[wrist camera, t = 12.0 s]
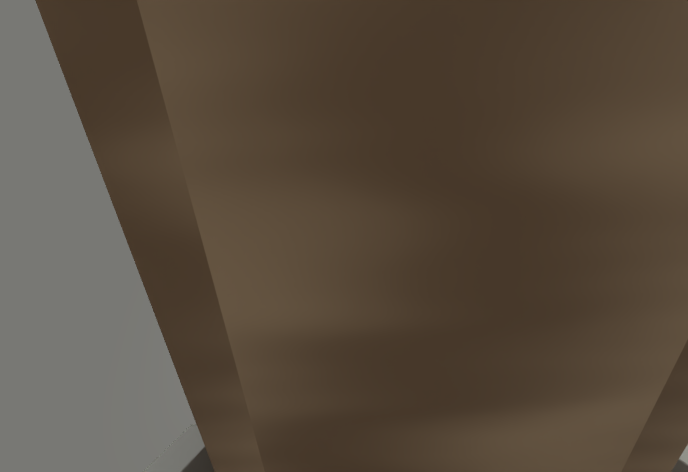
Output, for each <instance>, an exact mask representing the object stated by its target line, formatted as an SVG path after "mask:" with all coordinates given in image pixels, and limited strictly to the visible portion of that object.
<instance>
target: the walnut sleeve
mask: <svg viewBox="0 0 688 472" xmlns="http://www.w3.org/2000/svg"><path fill="white" fill-rule="evenodd" d="M36 3H37V6H38V8H39V11H40V13H41V16H42V19H43V22H44V24H45V27H46V29H47V32H48V34H49V37H50V40H51V43H52V45H53V48H54V50H55V53H56V56H57V58H58V61H59V64H60V66H61V69H62V71H63V74H64V77H65V79H66V82H67V85H68V87H69V90H70V92H71V95H72V98H73V100H74V103H75V106H76V108H77V111H78V114H79V116H80V119H81V121H82V124H83V127H84V129H85V132H86V135H87V137H88V140H89V142H90V145H91V148H92V150H93V153H94V156H95V158H96V161H97V164H98V166H99V169H100V171H101V174H102V177H103V179H104V182H105V185H106V187H107V190H108V192H109V195H110V197H111V200H112V203H113V206H114V208H115V211H116V214H117V216H118V219H119V221H120V224H121V227H122V229H123V232H124V235H125V237H126V240H127V242H128V245H129V248H130V250H131V253H132V255H133V258H134V261H135V264H136V266H137V269H138V271H139V274H140V277H141V279H142V282H143V285H144V287H145V290H146V292H147V295H148V297H149V300H150V303H151V305H152V308H153V311H154V313H155V316H156V319H157V321H158V324H159V327H160V329H161V332H162V334H163V337H164V340H165V342H166V345H167V348H168V350H169V353H170V355H171V358H172V361H173V363H174V366H175V369H176V371H177V374H178V377H179V379H180V382H181V385H182V387H183V390H184V392H185V395H186V397H187V400H188V403H189V406H190V408H191V410H192V413H193V416H194V418H195V421H196V424H197V427H198V429H199V432H200V434H201V437H202V440H203V442H204V445H205V448H206V450H207V453H208V456H209V458H210V461H211V463H212V466H213V469H214V471H215V472H671V471H672V469H673V468H674V466H675V464H676V463H677V461H678V460H679V458H680V456H681V455H682V453H683V451H684V450H685V448H686V446H687V445H688V0H36Z"/></svg>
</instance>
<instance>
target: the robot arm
mask: <svg viewBox="0 0 688 472" xmlns="http://www.w3.org/2000/svg"><path fill="white" fill-rule="evenodd" d="M143 472H215V471H214V469H213V466H212V463H211V461H210V458H209V456H208V453H207V450H206V448H205V445H204V442H203V440H202V437H201V434H200V432H199V429H198V427H197V424H195V425H191V426H190V427H189V428H188V429H187V430H186V431H185V432H183V434H182V435H180V436H179V437H178V438H177V439H176V440H175V441H174V442H173V443H172V444H171V445H170V446H169V447H168V448H167V449H166V450H165V451H164V452H163V453H162V454H161V455H160V456H159V457H158V458H157V459H156V460H155V461H154V462H153V463H151V465H150V466H148V467H147V468H146V469H145V470H144V471H143ZM671 472H688V445H687V446H686V448H685V450H684V451H683V453H682V455H681V456H680V458H679V460H678V461H677V463H676V464H675V466H674V468H673V469H672V471H671Z"/></svg>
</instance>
